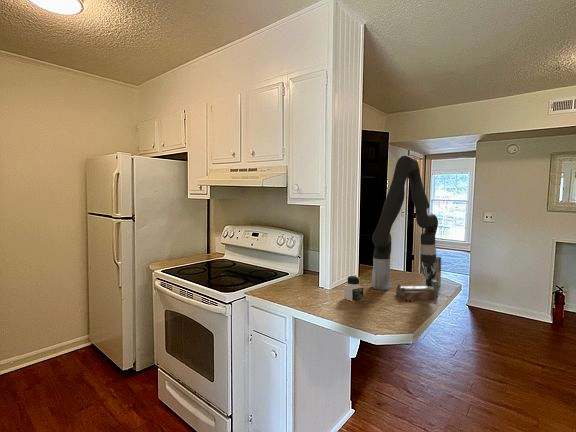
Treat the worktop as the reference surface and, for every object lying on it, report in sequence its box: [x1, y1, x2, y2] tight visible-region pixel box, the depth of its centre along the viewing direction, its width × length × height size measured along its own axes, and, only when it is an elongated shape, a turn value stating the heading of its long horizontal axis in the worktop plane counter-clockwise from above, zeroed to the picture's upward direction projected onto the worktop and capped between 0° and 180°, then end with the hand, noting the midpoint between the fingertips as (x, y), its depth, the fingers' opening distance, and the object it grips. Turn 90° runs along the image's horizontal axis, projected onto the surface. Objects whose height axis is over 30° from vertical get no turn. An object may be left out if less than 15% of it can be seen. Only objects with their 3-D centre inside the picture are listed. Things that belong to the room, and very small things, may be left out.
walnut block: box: [395, 284, 436, 301], centre depth 168 cm, size 17×9×6 cm, turn 91°
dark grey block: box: [431, 280, 439, 298], centre depth 168 cm, size 2×3×8 cm
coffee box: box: [431, 256, 442, 287], centre depth 187 cm, size 9×6×16 cm
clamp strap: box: [399, 285, 434, 290], centre depth 168 cm, size 17×4×2 cm, turn 91°
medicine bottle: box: [343, 275, 364, 303], centre depth 165 cm, size 7×7×12 cm
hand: (428, 285), depth 167 cm, fingers closed
